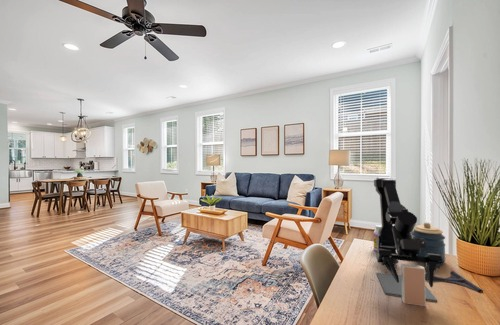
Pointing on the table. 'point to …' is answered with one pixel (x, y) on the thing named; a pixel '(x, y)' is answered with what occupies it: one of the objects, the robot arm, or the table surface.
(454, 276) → the bracket
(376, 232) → the supplement bottle
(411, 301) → the tile
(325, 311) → the table surface
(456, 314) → the table surface
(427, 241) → the canister
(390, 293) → the mat
